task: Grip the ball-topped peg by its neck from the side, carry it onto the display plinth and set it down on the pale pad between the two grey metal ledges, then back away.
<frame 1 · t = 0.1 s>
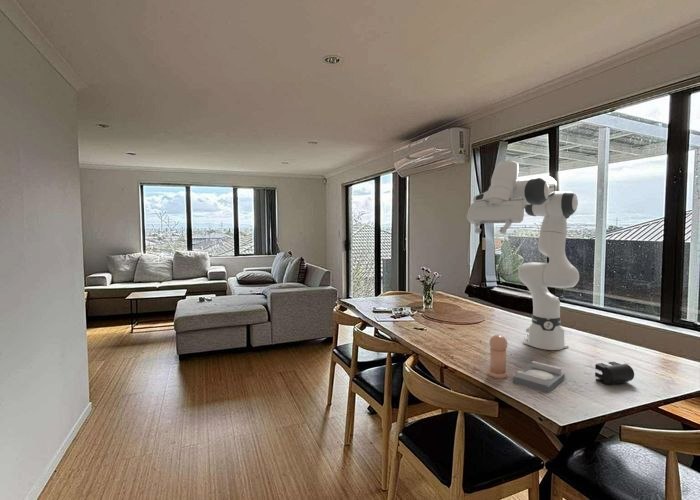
hand: (489, 232, 133), 54 cm above the table, tool tilted 30°, fingers open, 8 cm apart
display plinth: (539, 380, 135), on the table
ball-topped peg: (497, 374, 141), on the table
end cap: (613, 383, 133), on the table
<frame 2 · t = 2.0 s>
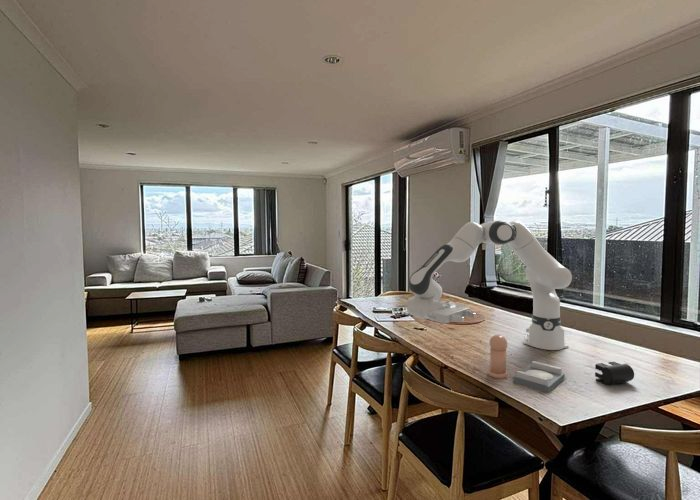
hand: (469, 317, 148), 20 cm above the table, tool horizontal, fingers open, 8 cm apart
nothing on the table moved.
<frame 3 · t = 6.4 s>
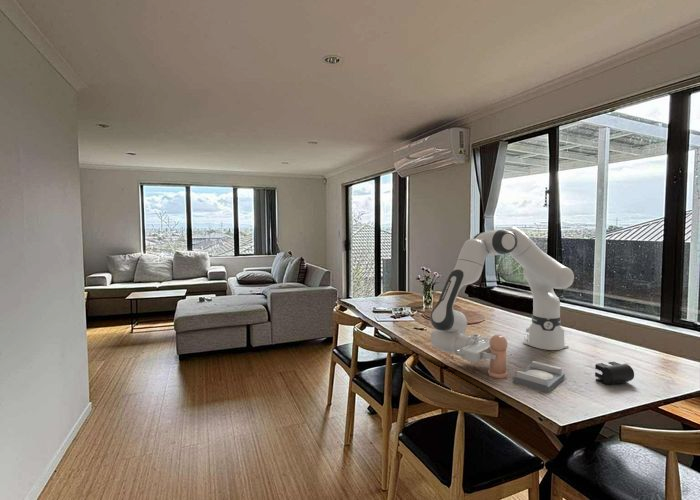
hand: (500, 354, 140), 8 cm above the table, tool horizontal, fingers closed on ball-topped peg, 6 cm apart
ball-topped peg: (497, 374, 141), on the table, touching gripper
everything else where it was.
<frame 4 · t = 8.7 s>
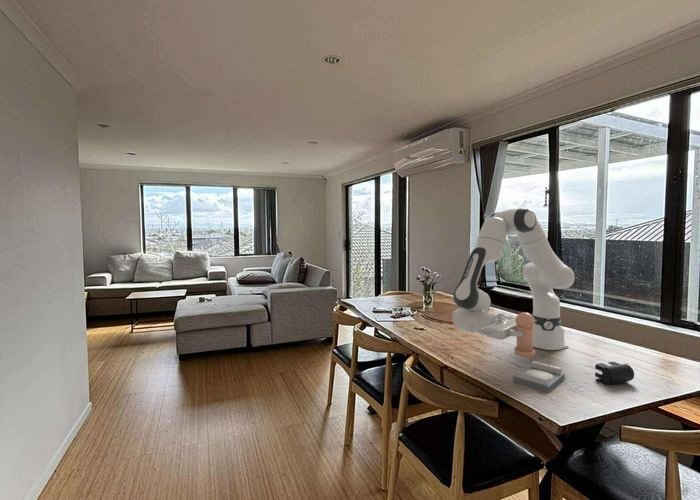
hand: (527, 332, 136), 18 cm above the table, tool horizontal, fingers closed on ball-topped peg, 6 cm apart
ball-topped peg: (524, 353, 137), point 9 cm above the table, touching gripper
everything else where it was.
when the fingers open (12 cm above the table, at t = 11.1 s): ball-topped peg drops 1 cm, resting on display plinth.
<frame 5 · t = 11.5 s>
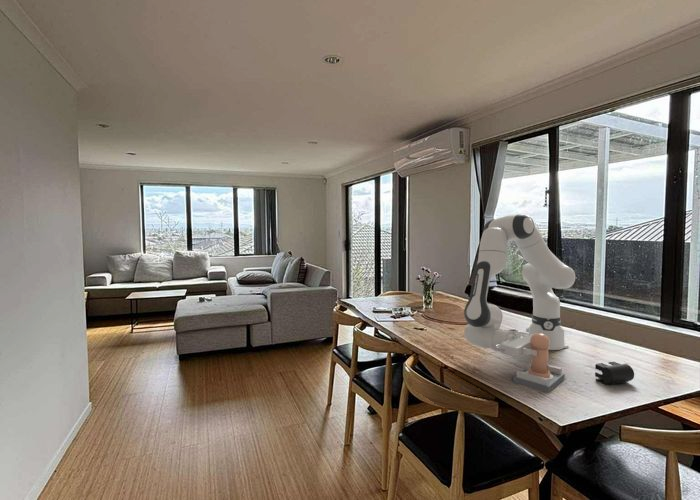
hand: (542, 349, 134), 12 cm above the table, tool horizontal, fingers open, 8 cm apart
ball-topped peg: (539, 374, 135), point 2 cm above the table, touching display plinth
everything else where it was.
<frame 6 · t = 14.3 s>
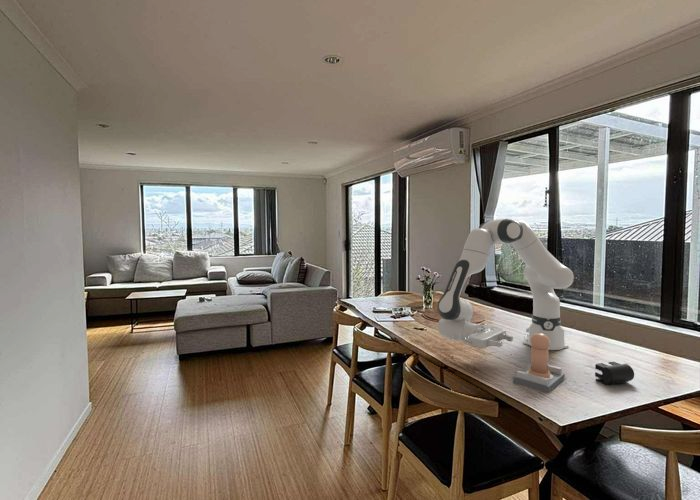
hand: (507, 341, 143), 12 cm above the table, tool horizontal, fingers open, 8 cm apart
nothing on the table moved.
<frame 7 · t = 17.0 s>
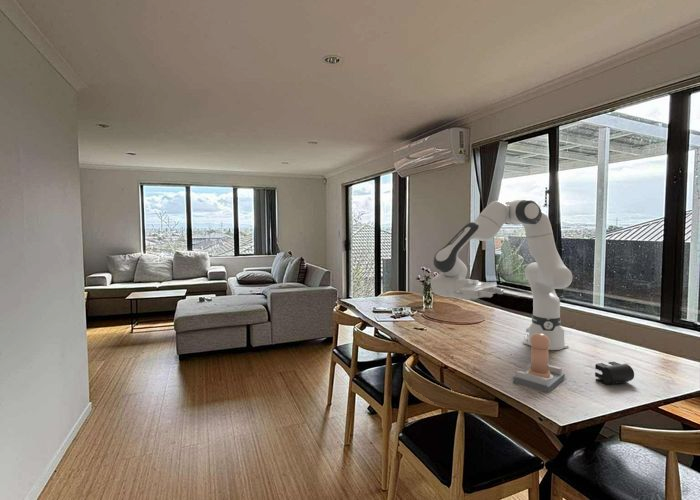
hand: (497, 293, 146), 30 cm above the table, tool horizontal, fingers open, 8 cm apart
nothing on the table moved.
at the end: ball-topped peg 0.0 cm off-centre on the display plinth, point 2.2 cm above the display plinth's base; ball-topped peg tilted 0°; the gripper is holding nothing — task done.
